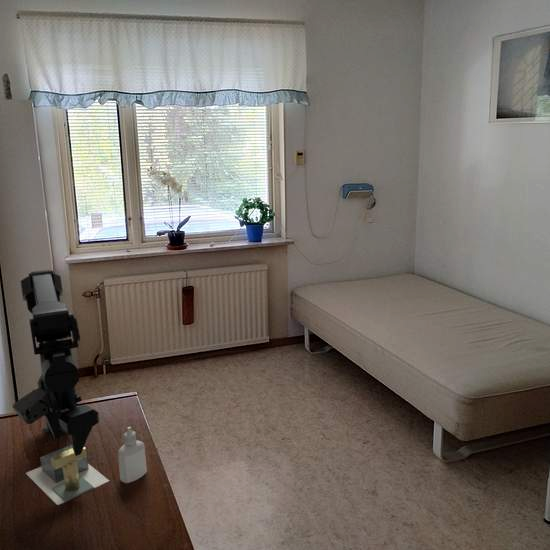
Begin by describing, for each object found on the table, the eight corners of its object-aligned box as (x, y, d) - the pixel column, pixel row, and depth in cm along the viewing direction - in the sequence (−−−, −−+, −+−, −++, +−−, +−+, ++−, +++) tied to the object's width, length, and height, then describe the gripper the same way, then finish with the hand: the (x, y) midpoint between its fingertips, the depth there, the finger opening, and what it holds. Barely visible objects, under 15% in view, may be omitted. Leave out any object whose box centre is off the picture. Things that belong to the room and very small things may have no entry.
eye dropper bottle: (149, 481, 116) (144, 429, 114) (121, 488, 114) (116, 435, 112) (145, 471, 120) (141, 420, 118) (119, 477, 118) (113, 425, 116)
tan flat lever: (84, 477, 116) (80, 443, 115) (90, 483, 114) (86, 448, 113) (54, 491, 112) (49, 456, 110) (60, 497, 110) (55, 461, 108)
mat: (52, 489, 113) (51, 487, 113) (80, 476, 117) (80, 475, 117) (65, 501, 109) (64, 500, 109) (93, 488, 113) (93, 486, 113)
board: (26, 477, 120) (25, 473, 119) (75, 456, 127) (74, 452, 127) (58, 509, 108) (57, 505, 108) (110, 485, 116) (109, 480, 116)
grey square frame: (41, 469, 120) (39, 457, 120) (73, 456, 125) (72, 444, 124) (55, 483, 115) (54, 470, 115) (88, 468, 120) (87, 456, 119)
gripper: (-3, 372, 108) (8, 445, 112) (35, 401, 95) (47, 482, 99) (53, 356, 116) (62, 425, 120) (96, 381, 103) (104, 457, 106)
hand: (67, 446), depth 111 cm, fingers open, 9 cm apart
